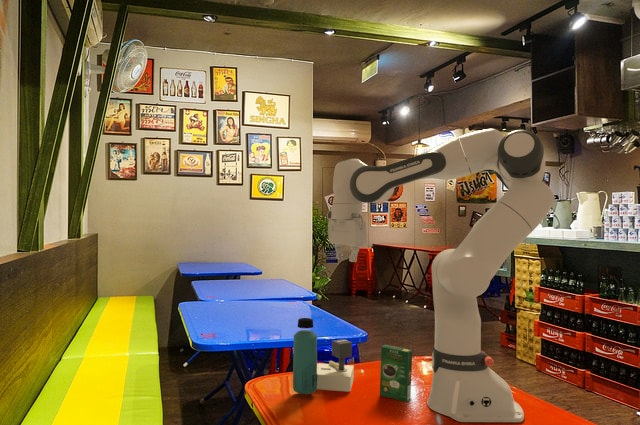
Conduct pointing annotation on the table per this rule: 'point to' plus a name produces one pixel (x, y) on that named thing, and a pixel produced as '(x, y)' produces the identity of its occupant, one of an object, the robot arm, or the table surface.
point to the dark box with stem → (341, 352)
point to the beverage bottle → (305, 358)
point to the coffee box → (395, 373)
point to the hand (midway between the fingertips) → (346, 260)
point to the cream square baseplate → (334, 377)
